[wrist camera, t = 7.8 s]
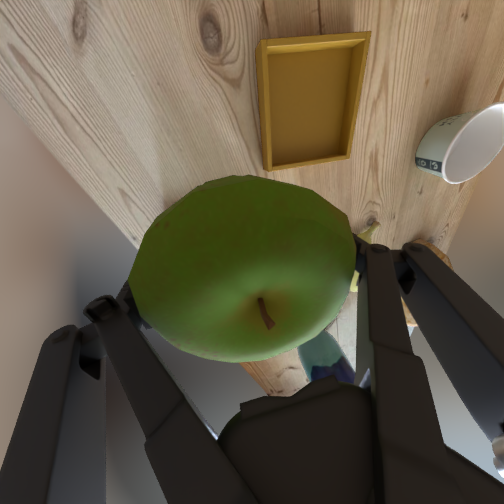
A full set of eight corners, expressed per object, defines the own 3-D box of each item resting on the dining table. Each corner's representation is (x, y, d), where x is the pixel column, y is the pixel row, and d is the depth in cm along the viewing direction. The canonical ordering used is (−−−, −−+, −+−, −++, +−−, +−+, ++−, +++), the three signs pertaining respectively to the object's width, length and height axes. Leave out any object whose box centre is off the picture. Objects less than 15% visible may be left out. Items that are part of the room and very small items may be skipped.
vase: (287, 334, 61) (345, 477, 35) (324, 317, 60) (411, 450, 34) (298, 350, 69) (352, 477, 43) (330, 335, 68) (406, 456, 42)
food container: (471, 91, 32) (525, 81, 26) (463, 155, 38) (505, 158, 33) (407, 134, 33) (445, 134, 28) (409, 188, 40) (441, 196, 34)
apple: (135, 221, 15) (18, 352, 6) (250, 121, 13) (355, 74, 4) (228, 294, 22) (243, 409, 13) (313, 235, 20) (407, 321, 10)
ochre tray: (263, 169, 31) (268, 172, 29) (254, 50, 23) (260, 39, 21) (338, 157, 33) (349, 158, 30) (354, 42, 25) (371, 30, 22)
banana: (339, 300, 44) (378, 223, 37) (322, 287, 49) (353, 216, 41) (367, 293, 51) (404, 227, 44) (350, 282, 56) (381, 221, 48)
